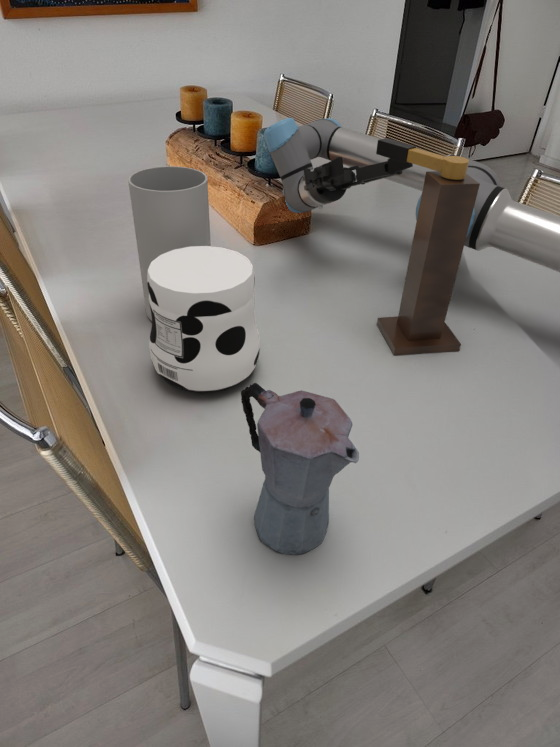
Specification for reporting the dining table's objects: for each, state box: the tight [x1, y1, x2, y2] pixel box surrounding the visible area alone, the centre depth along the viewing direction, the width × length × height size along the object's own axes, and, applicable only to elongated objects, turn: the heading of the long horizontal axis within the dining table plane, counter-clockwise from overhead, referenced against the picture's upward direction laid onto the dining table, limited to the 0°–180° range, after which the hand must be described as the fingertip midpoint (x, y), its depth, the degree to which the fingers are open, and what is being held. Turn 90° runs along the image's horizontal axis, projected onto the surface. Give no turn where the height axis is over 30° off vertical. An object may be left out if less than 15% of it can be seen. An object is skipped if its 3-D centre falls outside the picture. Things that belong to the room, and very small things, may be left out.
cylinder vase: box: [127, 165, 212, 322], centre depth 95 cm, size 12×12×25 cm
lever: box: [376, 137, 470, 180], centre depth 84 cm, size 4×16×2 cm, turn 42°
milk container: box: [147, 245, 261, 393], centre depth 83 cm, size 17×17×18 cm
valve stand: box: [376, 171, 480, 356], centre depth 90 cm, size 12×10×29 cm
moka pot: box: [240, 382, 360, 556], centre depth 59 cm, size 10×15×20 cm, turn 53°
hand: (376, 161), depth 93 cm, fingers open, 13 cm apart
